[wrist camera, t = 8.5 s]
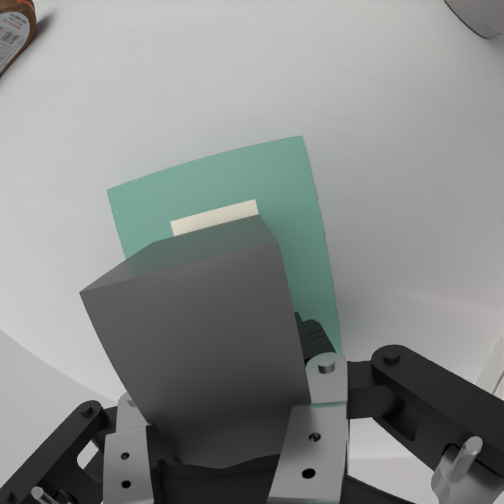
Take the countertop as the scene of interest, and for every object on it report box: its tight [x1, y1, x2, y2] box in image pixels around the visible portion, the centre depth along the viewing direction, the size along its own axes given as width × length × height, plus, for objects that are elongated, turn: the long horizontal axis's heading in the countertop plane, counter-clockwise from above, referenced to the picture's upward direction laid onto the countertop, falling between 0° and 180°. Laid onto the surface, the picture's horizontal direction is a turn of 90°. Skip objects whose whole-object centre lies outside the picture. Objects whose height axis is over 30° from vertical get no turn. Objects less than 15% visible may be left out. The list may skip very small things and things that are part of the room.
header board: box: [107, 136, 342, 355], centre depth 16 cm, size 17×12×5 cm
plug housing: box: [79, 214, 310, 469], centre depth 10 cm, size 11×5×6 cm, turn 14°
